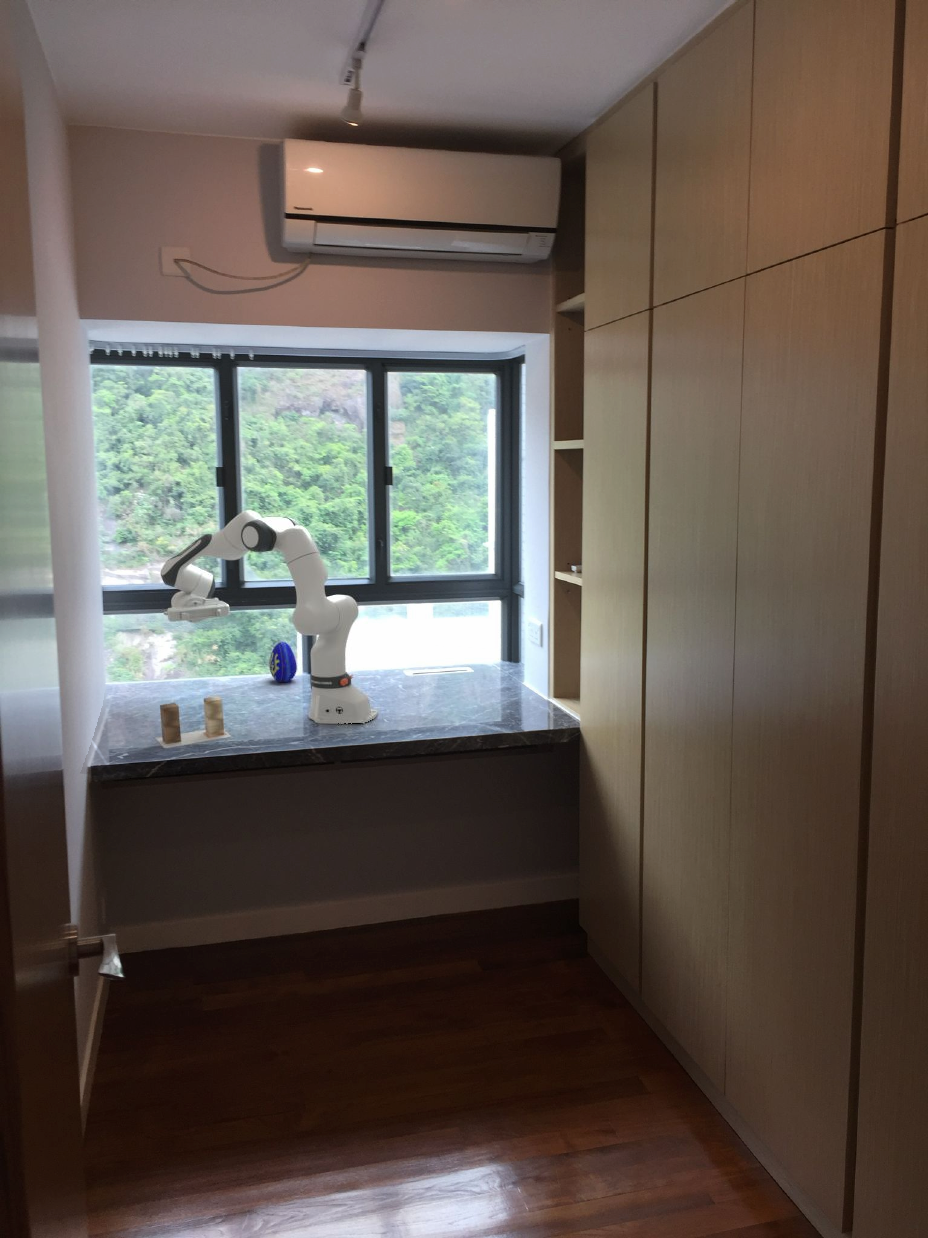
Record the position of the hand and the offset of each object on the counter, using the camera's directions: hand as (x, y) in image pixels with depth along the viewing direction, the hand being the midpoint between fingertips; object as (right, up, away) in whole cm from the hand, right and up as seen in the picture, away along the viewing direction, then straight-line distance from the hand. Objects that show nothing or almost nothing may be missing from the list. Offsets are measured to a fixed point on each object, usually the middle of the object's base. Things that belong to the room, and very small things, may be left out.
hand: (204, 616), depth 309 cm
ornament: (+18, -24, +42) cm, 52 cm away
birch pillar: (+9, -36, -20) cm, 42 cm away
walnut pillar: (-3, -38, -27) cm, 46 cm away
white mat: (+3, -37, -23) cm, 44 cm away
